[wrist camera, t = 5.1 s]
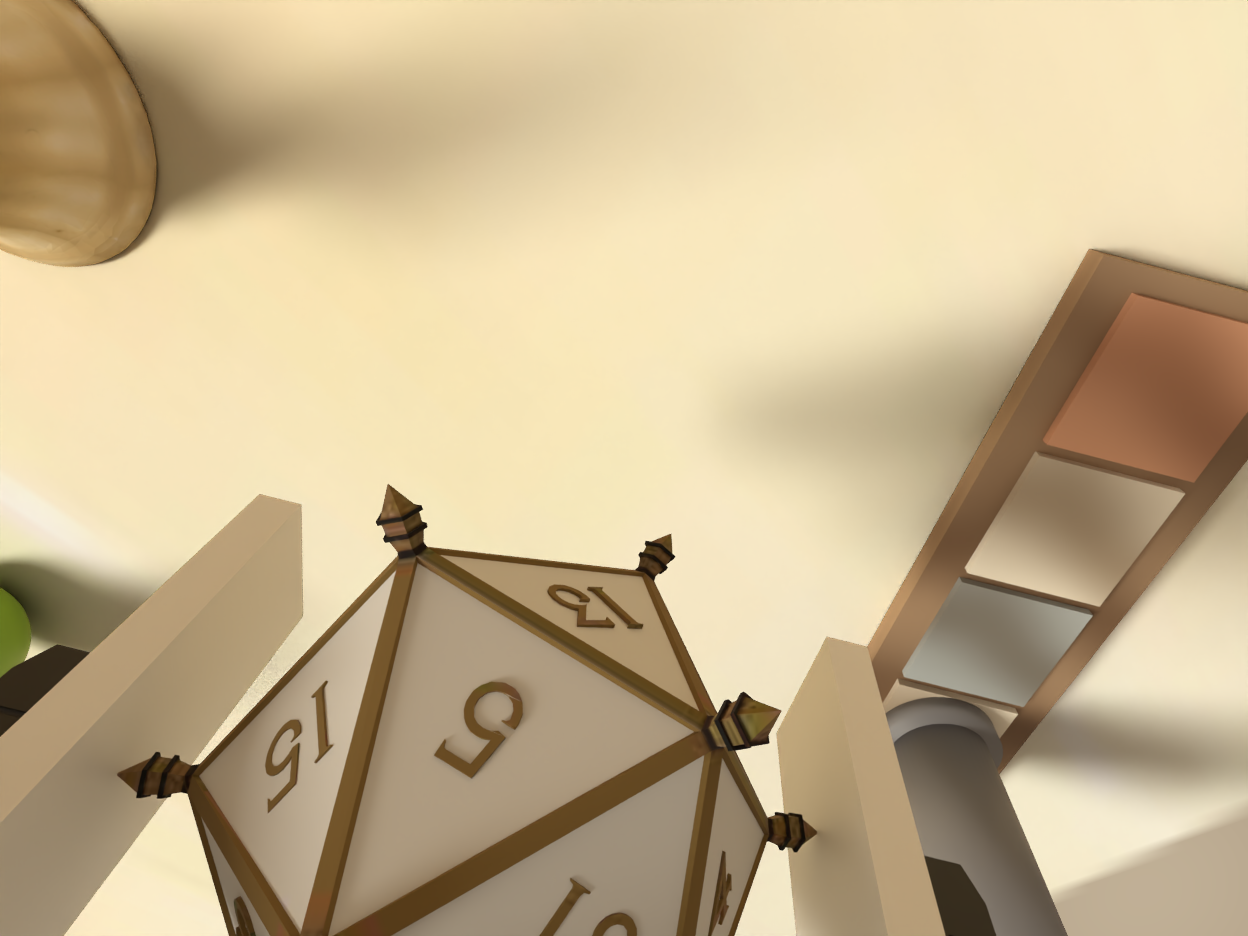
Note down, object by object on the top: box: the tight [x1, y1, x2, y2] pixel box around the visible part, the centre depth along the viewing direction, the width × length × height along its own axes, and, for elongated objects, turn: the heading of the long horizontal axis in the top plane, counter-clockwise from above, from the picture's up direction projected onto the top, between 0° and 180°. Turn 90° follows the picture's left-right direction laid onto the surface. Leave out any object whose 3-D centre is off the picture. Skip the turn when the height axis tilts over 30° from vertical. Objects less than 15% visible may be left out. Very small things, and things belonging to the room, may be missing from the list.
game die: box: [117, 484, 817, 936], centre depth 10 cm, size 9×8×10 cm
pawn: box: [886, 697, 1068, 936], centre depth 22 cm, size 5×5×12 cm
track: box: [867, 249, 1248, 774], centre depth 24 cm, size 21×7×1 cm, turn 167°
